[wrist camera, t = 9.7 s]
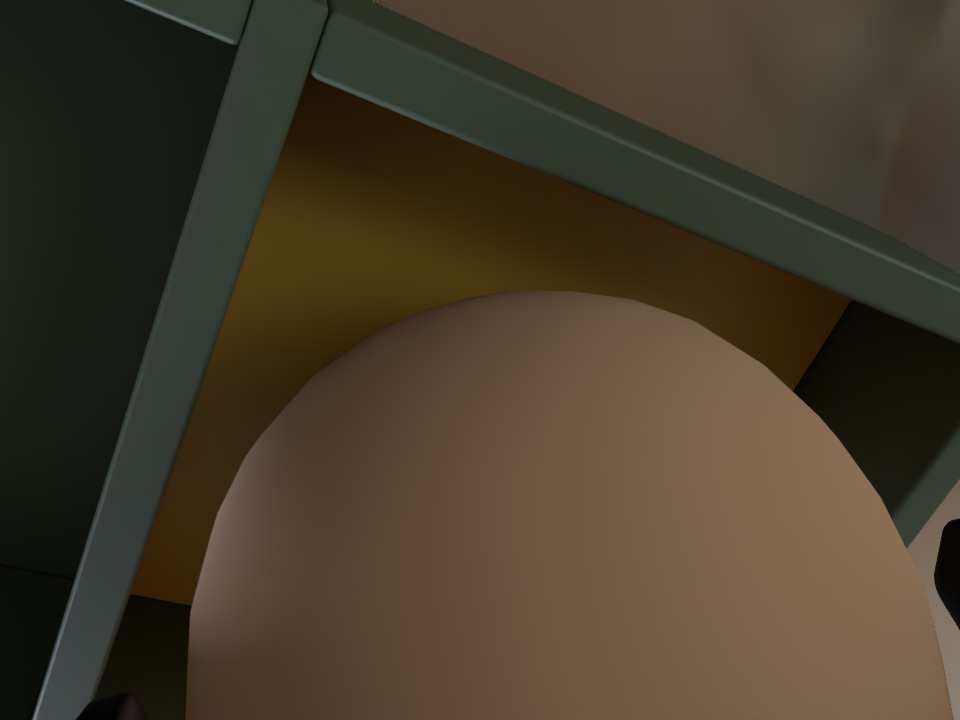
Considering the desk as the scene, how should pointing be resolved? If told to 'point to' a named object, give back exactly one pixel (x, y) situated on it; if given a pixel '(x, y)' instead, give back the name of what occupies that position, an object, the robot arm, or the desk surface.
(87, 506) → the carton
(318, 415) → the egg
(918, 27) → the desk surface
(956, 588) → the robot arm
